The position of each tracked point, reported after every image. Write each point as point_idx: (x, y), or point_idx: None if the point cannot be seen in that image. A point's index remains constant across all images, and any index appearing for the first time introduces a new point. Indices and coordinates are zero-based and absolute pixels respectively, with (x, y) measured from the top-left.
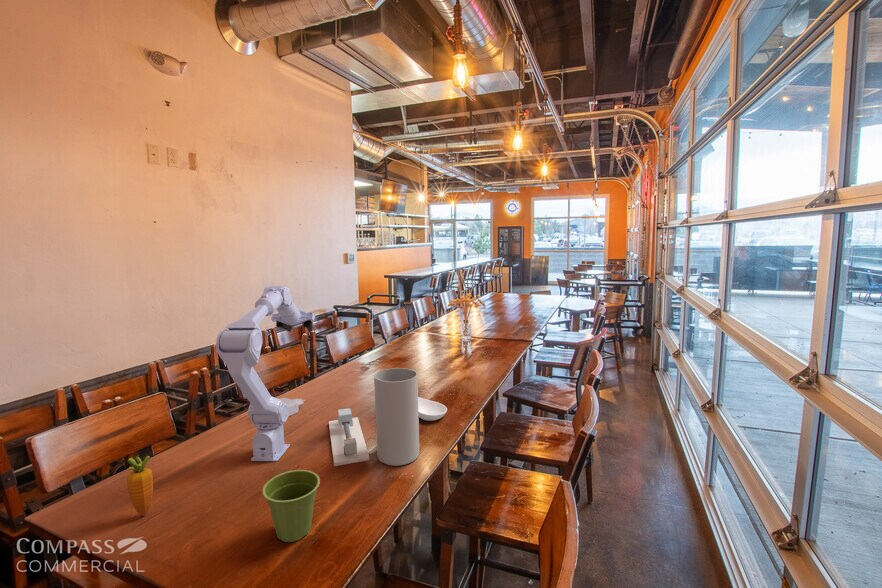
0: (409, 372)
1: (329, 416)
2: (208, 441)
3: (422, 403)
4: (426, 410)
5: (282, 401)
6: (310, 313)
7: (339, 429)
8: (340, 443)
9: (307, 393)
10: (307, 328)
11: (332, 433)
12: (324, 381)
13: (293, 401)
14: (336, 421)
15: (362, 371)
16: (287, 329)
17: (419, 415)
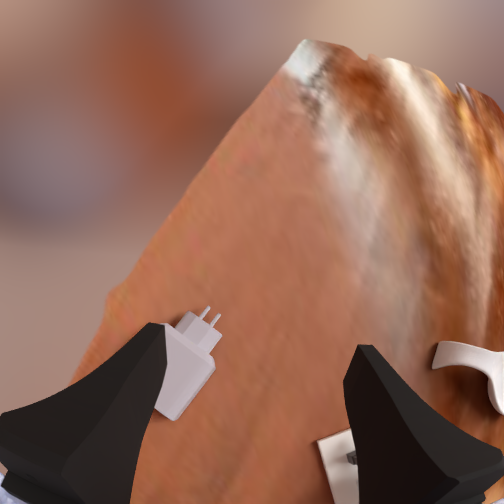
0: None
1: (307, 397)
2: None
3: (501, 361)
4: (499, 369)
5: (167, 360)
6: (491, 475)
7: (352, 480)
8: None
9: (206, 234)
10: (362, 463)
11: (340, 498)
12: (234, 161)
13: (200, 364)
14: (338, 441)
15: (311, 117)
16: (147, 420)
17: (496, 410)
